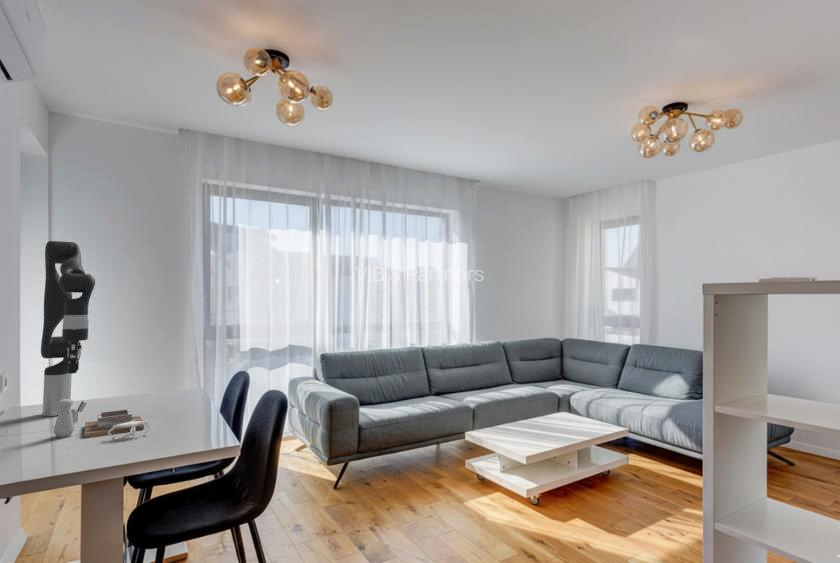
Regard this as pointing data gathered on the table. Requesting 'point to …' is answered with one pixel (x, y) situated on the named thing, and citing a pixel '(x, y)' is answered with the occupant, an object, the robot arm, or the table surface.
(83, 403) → the lighter
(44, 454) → the table surface
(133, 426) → the white bent open piece
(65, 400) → the salt shaker
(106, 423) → the wooden base with frame
